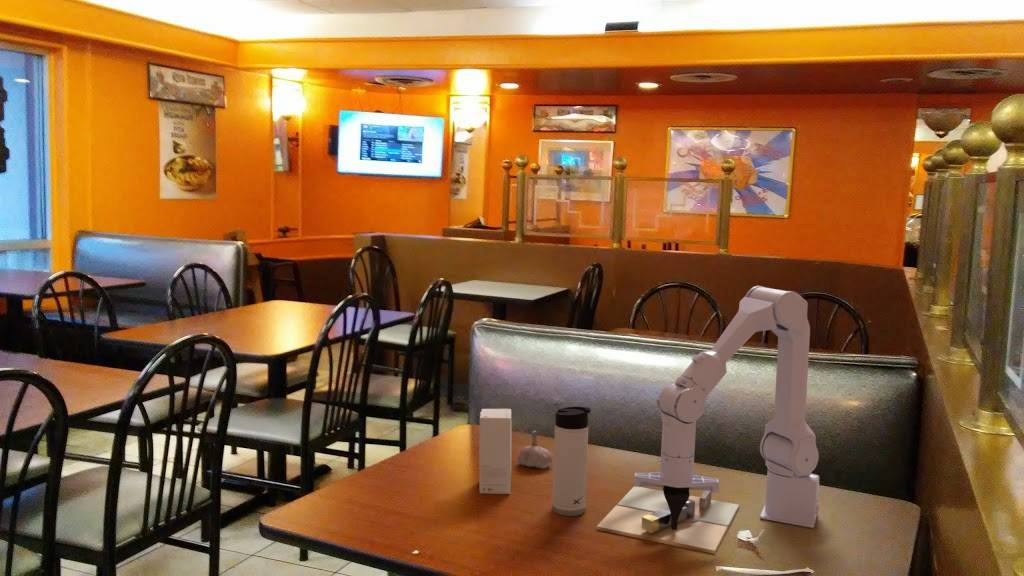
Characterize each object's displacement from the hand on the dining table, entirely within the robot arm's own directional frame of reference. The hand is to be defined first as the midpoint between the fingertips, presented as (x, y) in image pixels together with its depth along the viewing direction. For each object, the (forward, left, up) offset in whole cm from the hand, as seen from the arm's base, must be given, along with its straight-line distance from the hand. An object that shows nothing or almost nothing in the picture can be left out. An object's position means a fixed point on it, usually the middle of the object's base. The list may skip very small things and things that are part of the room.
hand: (673, 527), depth 145 cm
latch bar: (+1, -3, 0) cm, 3 cm away
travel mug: (+20, -2, -2) cm, 20 cm away
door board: (+2, -7, -1) cm, 8 cm away
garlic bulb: (+36, -22, -2) cm, 42 cm away
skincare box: (+38, -6, -2) cm, 39 cm away
